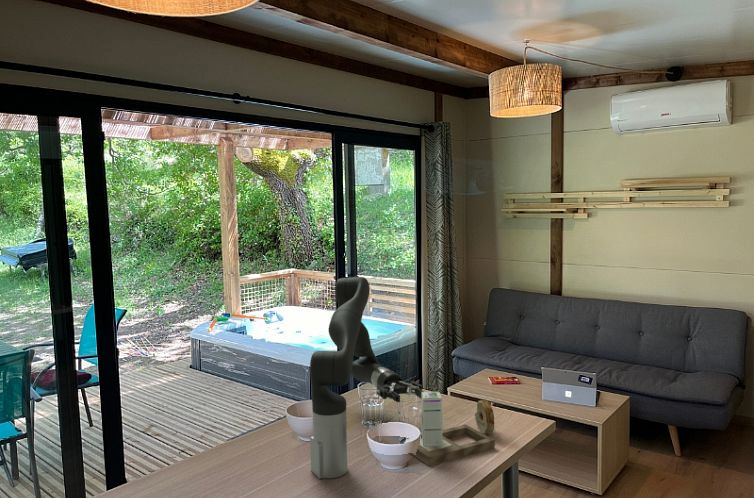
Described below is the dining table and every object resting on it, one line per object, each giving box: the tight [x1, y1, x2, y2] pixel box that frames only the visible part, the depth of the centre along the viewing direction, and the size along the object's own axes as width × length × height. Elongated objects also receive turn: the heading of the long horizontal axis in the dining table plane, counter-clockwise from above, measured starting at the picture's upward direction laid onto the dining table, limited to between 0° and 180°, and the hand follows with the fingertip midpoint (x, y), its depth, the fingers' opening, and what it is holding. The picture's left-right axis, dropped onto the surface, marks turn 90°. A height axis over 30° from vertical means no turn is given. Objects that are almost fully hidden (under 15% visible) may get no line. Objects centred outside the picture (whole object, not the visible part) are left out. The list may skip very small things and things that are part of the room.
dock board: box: [414, 424, 496, 467], centre depth 169 cm, size 24×14×3 cm, turn 119°
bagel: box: [474, 399, 495, 435], centre depth 181 cm, size 10×4×10 cm, turn 9°
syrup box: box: [420, 390, 443, 447], centre depth 166 cm, size 6×6×14 cm
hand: (411, 397), depth 175 cm, fingers open, 8 cm apart
